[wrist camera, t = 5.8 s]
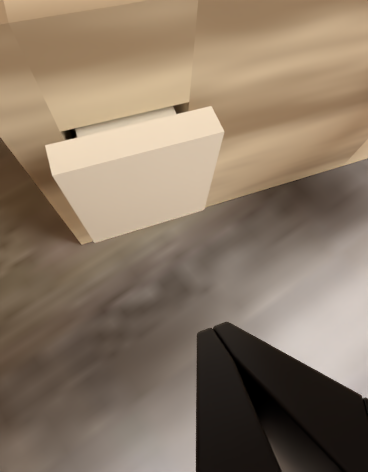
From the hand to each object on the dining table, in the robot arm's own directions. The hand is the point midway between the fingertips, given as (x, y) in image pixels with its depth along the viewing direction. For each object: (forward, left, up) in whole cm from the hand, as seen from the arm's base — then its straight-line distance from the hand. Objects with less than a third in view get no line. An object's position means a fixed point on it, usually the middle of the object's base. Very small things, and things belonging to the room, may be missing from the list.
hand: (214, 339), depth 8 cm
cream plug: (+10, +5, -3) cm, 12 cm away
